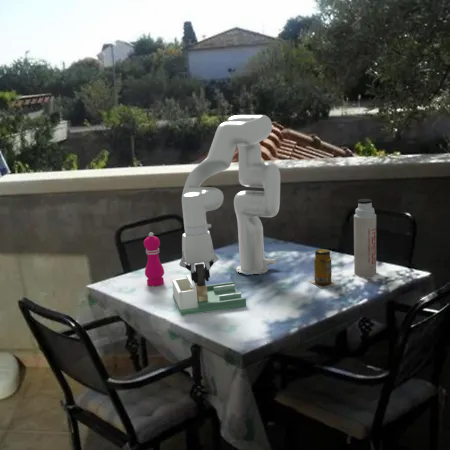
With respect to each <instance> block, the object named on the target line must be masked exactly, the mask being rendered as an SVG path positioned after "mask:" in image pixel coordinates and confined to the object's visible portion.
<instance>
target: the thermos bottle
mask: <svg viewBox="0 0 450 450" xmlns="http://www.w3.org/2000/svg"><path fill="white" fill-rule="evenodd" d="M357 203H358V205H357V206H358V207H357V208H355V211H354V212H355V214H354V215H353V250H354V251H353V254H354V255H353V256H354V257H353V262H354V265H353V266H354V271H353V273H354V275H355V276H358V277H360V278H361V277H364V278H368V277H373V276H376V275H377V214H376V213H375V208H374V207H373V205H372V199H369V198H361V199H357Z"/></svg>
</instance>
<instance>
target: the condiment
mask: <svg viewBox="0 0 450 450" xmlns="http://www.w3.org/2000/svg"><path fill="white" fill-rule="evenodd" d="M313 261H314V263H313V264H314V267H313V269H314V279H313V280H309V282H310V283H312V284H314V285H315V286H317V287H318V288H320V289H322V288H323V289H324V288H329V287H334V286H338V285H339V284H338V283H337V282H335V281H333V280H332V271H333V270H332V257H331V251H330V250H329V249H328V248H327V249H326V248H318V249H316V250H315V251H314V259H313Z"/></svg>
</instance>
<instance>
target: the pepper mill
mask: <svg viewBox="0 0 450 450" xmlns="http://www.w3.org/2000/svg"><path fill="white" fill-rule="evenodd" d="M154 234H155V233H153V232H149V233H148V236H147V237H146V238H145V239H144V240H143V246H144V248H145V253H146V255H147V262H146V265H145V269H144V274H145V277H146V278H147V279H146V283H147V286H149V287H159V286H162V285H164V284H165V283H164V282H165V281H164V280H165V279H164V277H163V276H164V274H165V269H164V266H163V264H162V263H161V261H160V256H159V253H160V248H159V247H160V245H161V241H160V239H159V237H157V236H155V235H154Z"/></svg>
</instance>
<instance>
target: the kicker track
mask: <svg viewBox="0 0 450 450" xmlns="http://www.w3.org/2000/svg"><path fill="white" fill-rule="evenodd" d="M235 289H236V284H232V285H225V286H218V287H214V293H219V292H227V291H234V290H235ZM241 297H242V292H241V291H239V292H238V293H233V294H226V295H219V301H224V300H231V299H238V298H241Z"/></svg>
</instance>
